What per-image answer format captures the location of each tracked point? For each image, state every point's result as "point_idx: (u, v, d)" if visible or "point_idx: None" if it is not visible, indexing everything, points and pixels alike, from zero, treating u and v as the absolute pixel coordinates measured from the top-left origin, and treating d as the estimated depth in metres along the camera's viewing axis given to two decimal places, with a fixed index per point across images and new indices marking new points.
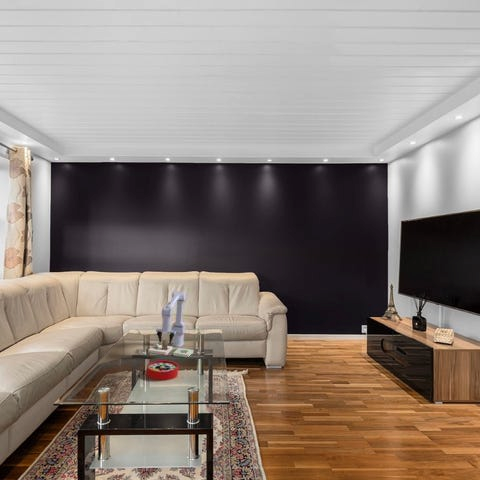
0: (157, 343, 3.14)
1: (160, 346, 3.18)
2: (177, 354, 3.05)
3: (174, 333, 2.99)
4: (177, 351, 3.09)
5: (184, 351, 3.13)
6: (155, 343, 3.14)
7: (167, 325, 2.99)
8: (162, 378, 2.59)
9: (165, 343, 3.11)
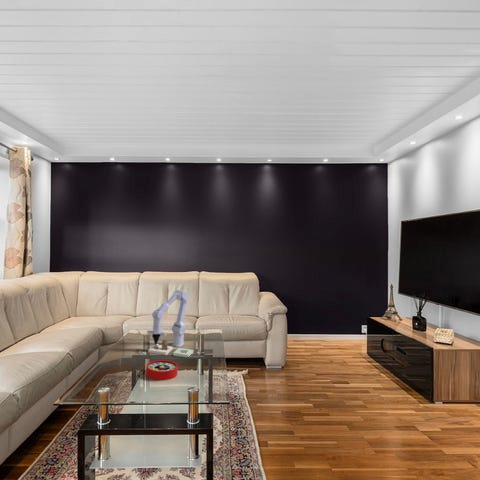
0: (157, 343, 3.14)
1: (160, 346, 3.18)
2: (177, 354, 3.05)
3: (164, 334, 3.11)
4: (177, 351, 3.09)
5: (184, 351, 3.13)
6: None
7: (158, 327, 3.11)
8: (161, 377, 2.60)
9: (165, 343, 3.11)
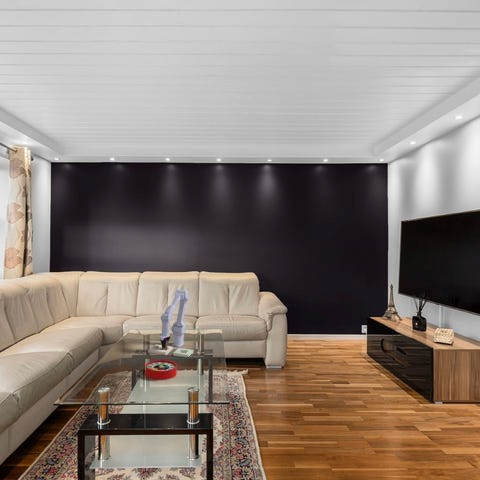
0: (157, 346, 3.15)
1: (160, 346, 3.18)
2: (177, 354, 3.05)
3: None
4: (177, 351, 3.09)
5: (184, 351, 3.13)
6: (155, 346, 3.14)
7: (162, 329, 3.11)
8: (161, 377, 2.60)
9: None
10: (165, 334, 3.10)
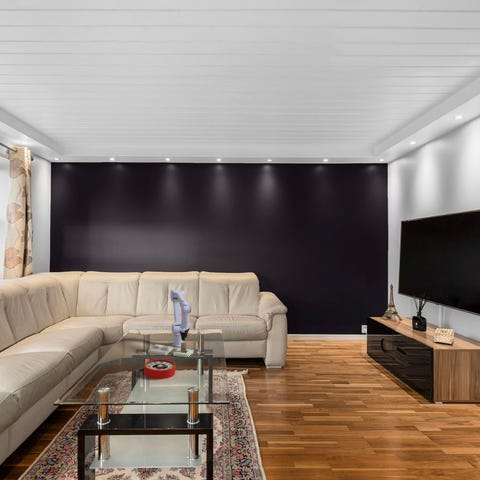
0: (157, 346, 3.15)
1: (160, 346, 3.18)
2: (177, 354, 3.05)
3: (181, 331, 3.09)
4: (177, 351, 3.09)
5: None
6: (155, 346, 3.14)
7: (181, 321, 3.14)
8: (160, 376, 2.61)
9: (184, 346, 3.08)
10: (185, 326, 3.13)
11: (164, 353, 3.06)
